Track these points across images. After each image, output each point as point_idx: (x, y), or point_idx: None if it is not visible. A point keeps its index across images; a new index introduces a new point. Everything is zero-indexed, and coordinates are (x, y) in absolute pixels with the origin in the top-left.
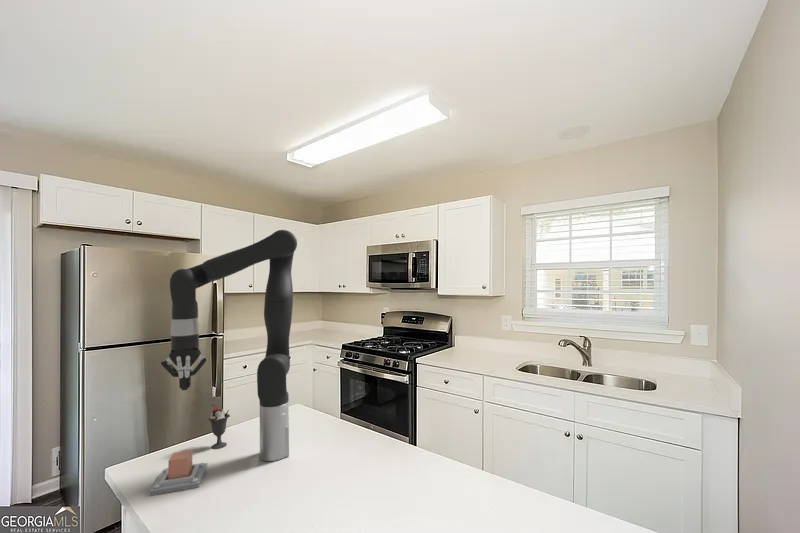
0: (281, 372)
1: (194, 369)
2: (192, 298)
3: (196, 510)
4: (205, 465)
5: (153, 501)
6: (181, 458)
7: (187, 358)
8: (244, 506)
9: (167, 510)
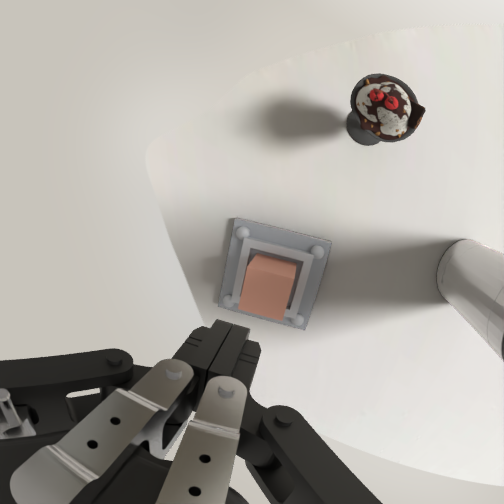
0: None
1: (264, 490)
2: None
3: (294, 390)
4: (326, 255)
5: None
6: (267, 316)
7: None
8: (356, 412)
9: None
